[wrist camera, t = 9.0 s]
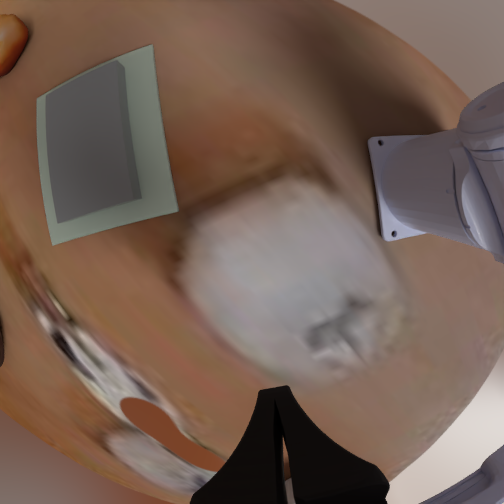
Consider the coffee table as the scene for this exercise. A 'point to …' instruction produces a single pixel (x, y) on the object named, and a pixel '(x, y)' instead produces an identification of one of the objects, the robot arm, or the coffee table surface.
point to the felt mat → (145, 151)
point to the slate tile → (90, 144)
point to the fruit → (11, 41)
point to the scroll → (1, 350)
